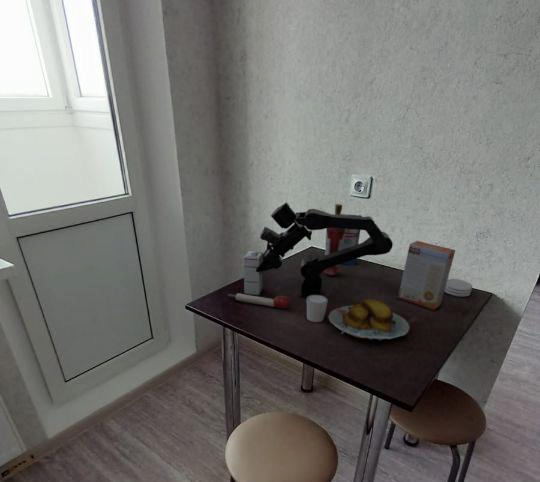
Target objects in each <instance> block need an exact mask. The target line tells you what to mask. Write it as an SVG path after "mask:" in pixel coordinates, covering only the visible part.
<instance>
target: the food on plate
mask: <svg viewBox="0 0 540 482" xmlns="http://www.w3.org/2000/svg"><path fill="white" fill-rule="evenodd" d="M327 321H329V322H330V324H332V326H334V327H335V328H336V329H338V330H339V331H341V335H343V334H344V333H346V334H347V335H350V336H353V337H354V338H358V339H360V338H361V339H368V340H369V341H370V340H371V341H373V340H374V339H375V340H378V341H384V340H392V339H394V338H395V339H396V338H399V337H404V336H406V335H408V334H409V332H410V331H411V326H410V323H409V321H407V319H405V318H404V317H402V316H400V315H398V314H396V313H394V312H393V310H392V308H391V307H390V306H389V305H388V304H387V303H385V302H383V301H381V300H380V299H379V300H378V299H374V298H364V299H363V300H362V302H359V303H356V304H352V305H346V306H342V307H338V308H335V309H332V310H331V311H329V314H328V315H327Z"/></svg>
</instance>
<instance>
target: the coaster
mask: <svg viewBox="0 0 540 482" xmlns="http://www.w3.org/2000/svg"><path fill="white" fill-rule="evenodd" d="M472 289H473V284H471V283H470V282H468V281H466V280H464V279H458V278H448V279H447V283H446V287H445V290H444V293H446V294H448V295H450V296H453V297H458V298H466V297H469V296H470V295H471V294H472V293H471V292H472Z"/></svg>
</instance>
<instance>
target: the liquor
mask: <svg viewBox="0 0 540 482" xmlns="http://www.w3.org/2000/svg"><path fill="white" fill-rule="evenodd" d="M342 210H343V204H341V203H336V204H334V215H341V214H342ZM344 235H345V229H342V228H326V232H325V249H324V256H325V255H328V254H331V253H334V252H337V251H340V250H342V246H343V241H344ZM339 269H340V264H339V265H336V266H333V267H330V268H327V269H326V270H324V271H323V272H322V273H323V274H324V275H325V276H327V277H335V276H337V275H338V274H339V273H340V270H339Z"/></svg>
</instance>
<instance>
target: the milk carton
mask: <svg viewBox="0 0 540 482" xmlns="http://www.w3.org/2000/svg"><path fill="white" fill-rule="evenodd" d="M341 215H347V216H360V217H363V216H362V215H361V214H360V215H358V214H348V213H347V214H346V213H345V214H344V213H341ZM360 237H361V230H355V229H345V235H344V241H343V246H342V250H343V249H346V248H348V247H351V246H354V245H357V244H360V243H359V241H360ZM356 261H357V259H354V260H351V261H348V262H345V263H342V264H341V265H349V266H355V265H356Z"/></svg>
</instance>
